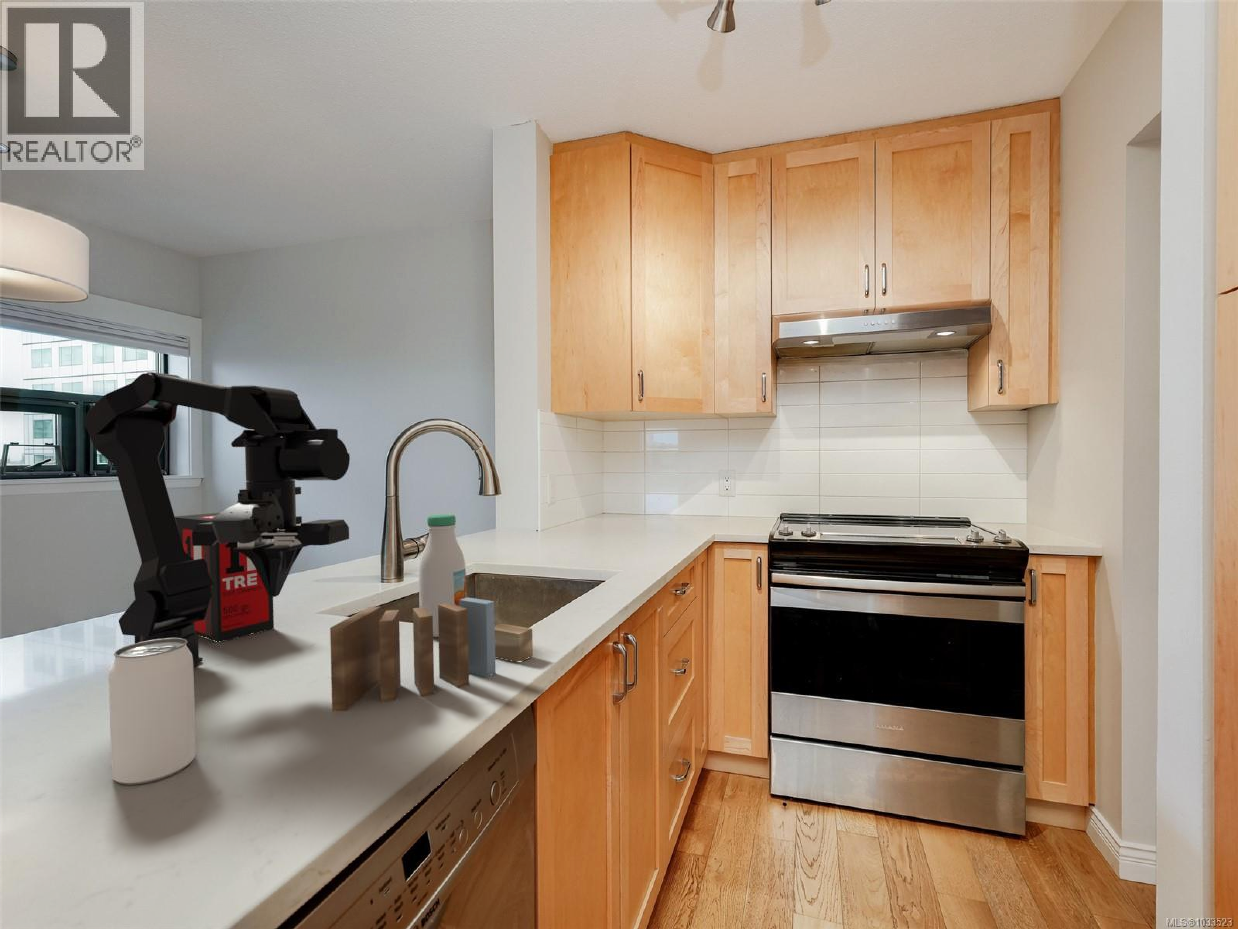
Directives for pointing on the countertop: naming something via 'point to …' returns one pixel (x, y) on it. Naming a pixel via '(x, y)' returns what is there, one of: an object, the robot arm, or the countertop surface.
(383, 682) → the domino
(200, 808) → the countertop surface
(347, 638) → the domino
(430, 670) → the domino
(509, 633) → the block
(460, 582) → the milk bottle
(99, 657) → the countertop surface
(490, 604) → the domino
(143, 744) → the can
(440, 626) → the domino
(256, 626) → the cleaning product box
